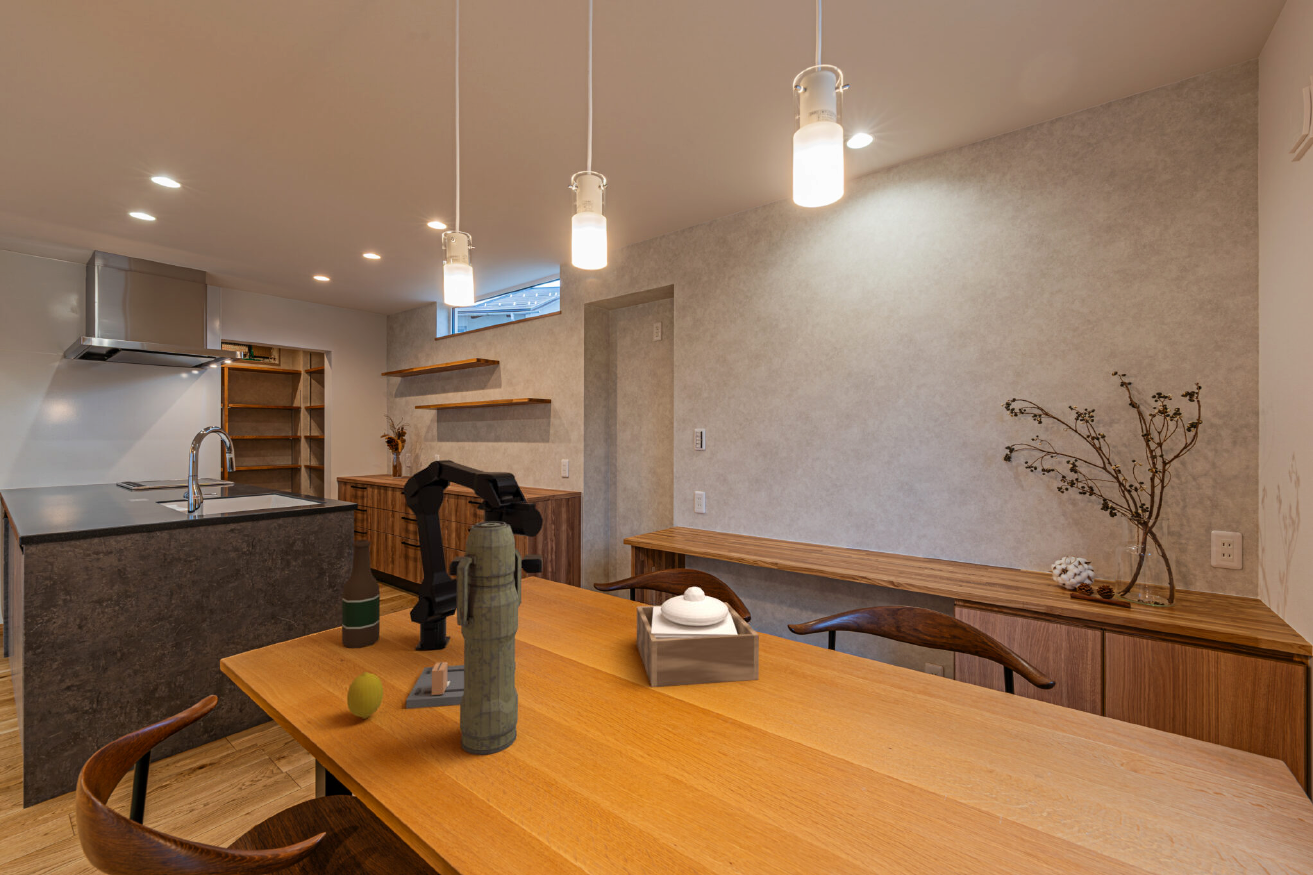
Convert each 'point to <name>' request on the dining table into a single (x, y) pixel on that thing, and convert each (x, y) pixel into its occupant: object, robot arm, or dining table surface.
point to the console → (451, 696)
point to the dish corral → (697, 654)
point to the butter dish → (692, 617)
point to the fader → (439, 678)
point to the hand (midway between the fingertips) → (497, 604)
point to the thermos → (489, 637)
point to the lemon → (365, 695)
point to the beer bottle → (360, 601)
